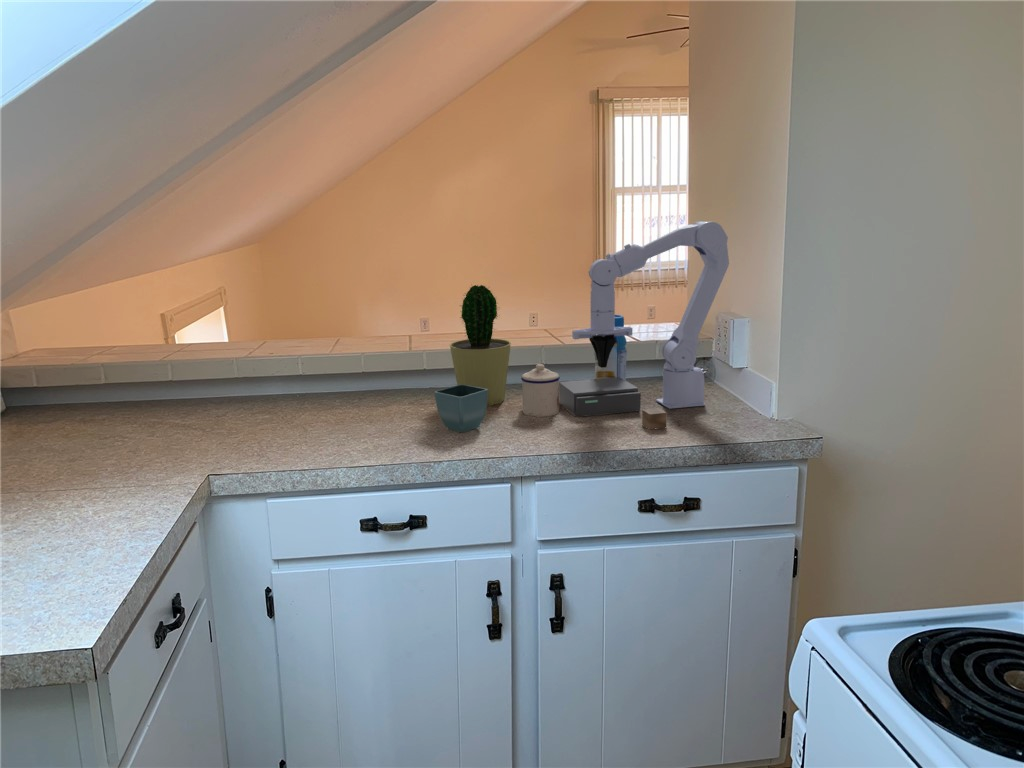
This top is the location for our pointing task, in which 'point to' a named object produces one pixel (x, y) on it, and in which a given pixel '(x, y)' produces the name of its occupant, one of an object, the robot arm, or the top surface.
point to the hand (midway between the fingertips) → (602, 366)
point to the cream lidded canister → (540, 392)
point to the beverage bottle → (614, 357)
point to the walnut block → (654, 418)
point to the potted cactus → (481, 346)
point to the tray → (608, 403)
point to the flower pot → (461, 406)
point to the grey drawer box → (591, 389)
